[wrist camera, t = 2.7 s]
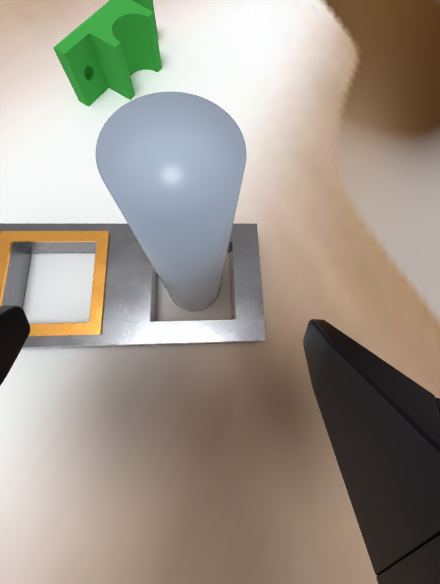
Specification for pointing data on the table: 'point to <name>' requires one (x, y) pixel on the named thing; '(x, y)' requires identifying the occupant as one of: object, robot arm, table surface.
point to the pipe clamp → (111, 49)
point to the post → (176, 186)
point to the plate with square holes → (128, 288)
